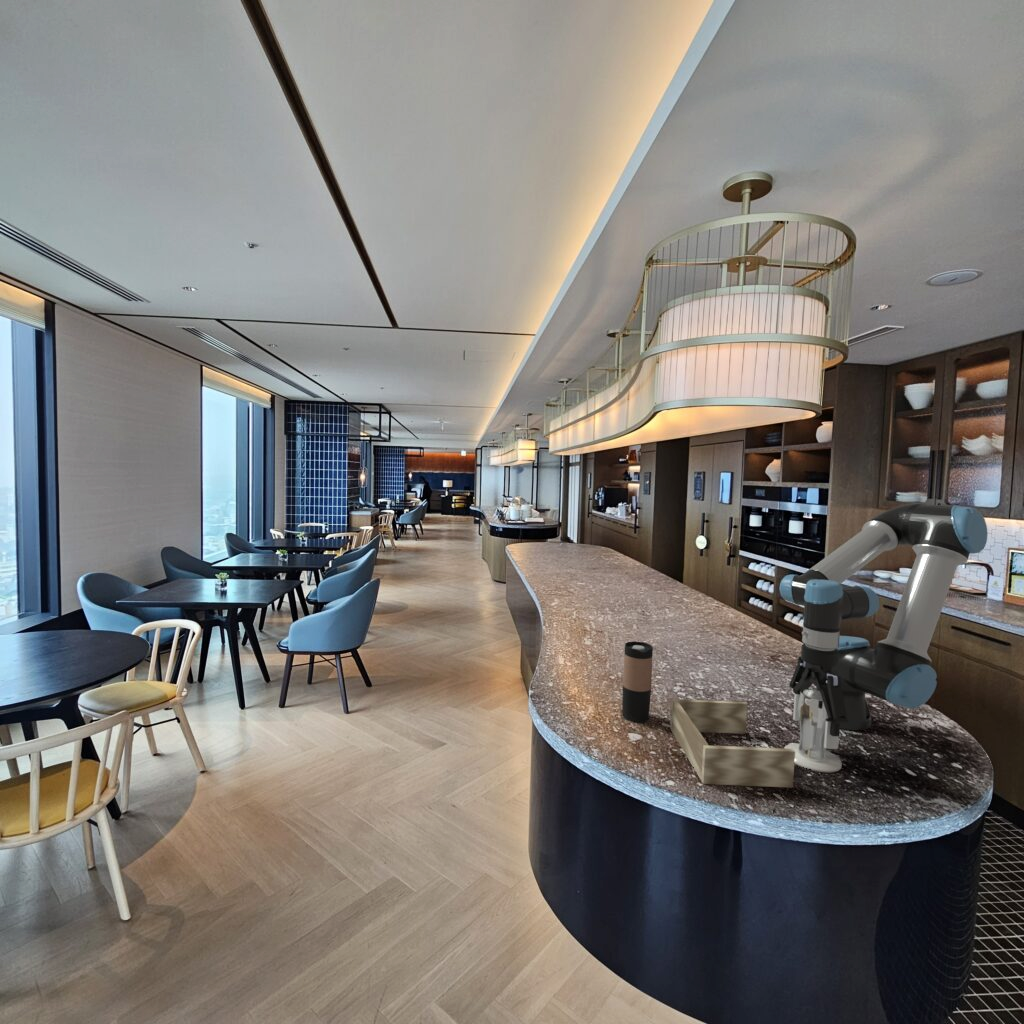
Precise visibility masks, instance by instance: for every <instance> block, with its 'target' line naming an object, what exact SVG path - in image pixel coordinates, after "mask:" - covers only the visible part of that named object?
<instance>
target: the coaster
mask: <svg viewBox="0 0 1024 1024" xmlns="http://www.w3.org/2000/svg"><path fill="white" fill-rule="evenodd" d="M798 747H799V743H789V744H787V745H785V746H784V748H785V749H793V750H794V751H795V762H794V765H796V766H799V767H801V768H803V767H804V768H805V769H806V768H807V770H809V769H811V770H810V771H813V772H814V771H815V772H819V773H826V774H827V773H836V772H839V771H841V769H842V766H843V765H842V761H841V760H840V758H839V757H838V756H837V755H835V754H833V753H832V752H831V751H828V750H827V749H826V760H825V761H823V762H816V761H811V760H808V759H805V758H803V757H802V756H800V755H799V754H798V752H797V750H798ZM804 768H803V769H804Z"/></svg>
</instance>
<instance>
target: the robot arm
mask: <svg viewBox="0 0 1024 1024" xmlns="http://www.w3.org/2000/svg"><path fill="white" fill-rule="evenodd" d="M987 542H988V525H987V523H986V518H985V517H984V516H983V514H982V513H981V512H980V511H979V510H977V509H976V508H975V507H974V508H973V507H969V506H961V505H957V504H955V505H946V504H945V505H943V504H941V505H940V504H939V505H938V504H920V503H908V504H907V503H906V504H902V505H898V506H895V507H892V508H890V509H887V510H885V511H883V512H881V513H879V514H877V515H875V516H874V517H872V518H871V519H869V520H868V521H866V522H865V523H864V524H863V525H862V527H861V531H859V532H858V533H857V534H855V535H854V536H852V537H851V538H850V539H849V540H847V541H846V542H844V543H843V544H842V545H840V546H839V547H838V548H836V549H835V550H833V551H832V552H831V553H830V554H828V555H827V556H825V557H824V558H822V559H821V560H820V561H819V562H818V563H816V564H815V565H813V566H812V567H811V568H809V569H808V570H806V571H805V572H804V573H802V574H801V575H798V574H786V575H784V577H783V578H782V579H781V581H780V584H779V593H780V596H781V598H782V599H783V600H784V601H786V602H788V603H792V604H794V605H797V606H803V625H802V626H803V627H802V631H801V635H802V639H801V641H802V643H803V644H801V652H800V656H798V658H797V663H796V666H795V668H794V671H793V674H792V677H791V679H790V682H789V688H791V689H792V692H793V693H794V696H793V697H794V700H793V711H792V712H793V714H792V720H793V721H794V722H795V721H796V722H797V721H798V722H799V719H798V706H799V698H800V691H801V690H803V689H810V688H811V686H812V685H814V686H815V689H814V690H818V691H820V693H821V696H822V699H823V703H824V706H825V709H826V712H827V715H828V718H827V719H826V724H825V739H824V747H825V749H826V750H827V749H830V750H834V749H835V750H839V743H840V742H839V740H840V730H841V729H842V730H843V729H844V730H849V731H864V730H865V731H866V730H868V729H870V728H871V727H872V716H871V712H870V708H869V705H868V701H867V699H866V694H868V695H872V696H873V697H876V698H879V699H882V700H883V701H887V702H888V703H891V704H892V705H897V706H901V707H903V708H906V709H916V708H919V707H921V706H922V705H924V704H925V703H927V702H928V700H929V699H931V697H932V695H933V694H934V692H935V690H936V687H937V683H938V682H937V680H936V679H937V678H938V676H937V672H936V670H935V669H934V668H933V667H932V666H931V664H932V659H931V657H930V656H929V654H928V649H929V646H930V644H931V641H932V638H933V635H934V633H935V630H936V626H937V624H938V623H939V619H940V616H941V612H942V610H943V607H944V605H945V602H946V598H947V595H948V593H949V590H950V588H951V585H952V582H953V579H954V576H955V573H956V570H957V567H958V566H961V565H962V564H966V563H967V562H968V560H969V557H970V555H973V554H975V555H976V554H978V553H981V552H982V551H983V550H984V548H985V547H986V545H987ZM898 546H912V547H911V548H912V550H913V551H914V553H915V554H916V557H915V559H914V563H913V565H912V568H911V570H910V573H909V576H908V578H907V581H906V584H905V587H904V590H903V592H902V595H901V598H900V600H899V603H898V606H897V609H896V612H895V614H894V617H893V619H892V623H891V625H890V628H889V631H888V634H887V637H886V638H885V639H881V640H878V641H877V643H876V645H875V648H871V647H870V646H871V644H870V641H869V640H868V639H866V638H863V637H857V636H849V635H840V634H841V621H844V620H854V619H865V618H868V617H871V616H874V615H875V614H876V613H877V612H878V611H879V608H880V599H879V596H878V594H877V593H876V591H874V590H873V589H872V588H870V587H868V586H862V585H853V586H849V585H844V584H842V583H844V582H845V581H846V580H848V579H850V577H852V576H853V575H855V574H856V573H857V572H859V571H860V570H861V569H863V567H865V566H866V565H867V564H869V563H870V562H871V561H873V560H875V558H877V557H878V556H879V555H881V554H882V553H883V552H889V551H892V550H894V549H895V548H896V547H898Z"/></svg>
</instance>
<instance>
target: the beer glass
mask: <svg viewBox="0 0 1024 1024" xmlns="http://www.w3.org/2000/svg"><path fill="white" fill-rule="evenodd" d="M827 718H828V715H827V712H826V709H825V706H824V703H823V699H822V696H821V693H820V691H818V690H815V689H812V688H809V689H803V690H801V691H800V698H799V706H798V719H799V721H798V725H799V726H798V727H799V734H800V735H799V736H800V737H799V738H800V739H799V743H798V744H799V747H798V750H797V752H798V754H799V755H800V756H802V757H803V758H805V759H808V760H811V761H816V762H823V761H825V760H826V750H827V749H826V748H825V747H824V739H825V724H826V719H827Z"/></svg>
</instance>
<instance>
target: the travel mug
mask: <svg viewBox="0 0 1024 1024" xmlns="http://www.w3.org/2000/svg"><path fill="white" fill-rule="evenodd" d="M653 649H654V647H653V645H651V644H649V643H647V642H642V641H628V642H626V643H625V644H624V653H623V654H624V656H623V673H622V674H623V675H622V697H621V698H622V704H621V705H622V706H621V707H622V708H621V709H622V711H621V713H622V717H623V718H624V719H625V720H627V721H630V722H632V721H633V722H632V723H645V722H647V721H649V717H650V708H651V707H650V706H651V705H650V704H651V695H652V693H651V692H652V680H653V679H652V677H653V675H652V674H653V655H654V653H653V652H654V651H653ZM644 721H645V722H644Z"/></svg>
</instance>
